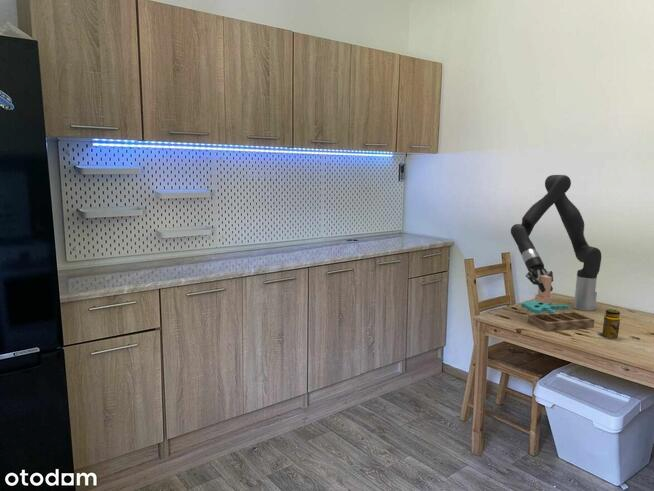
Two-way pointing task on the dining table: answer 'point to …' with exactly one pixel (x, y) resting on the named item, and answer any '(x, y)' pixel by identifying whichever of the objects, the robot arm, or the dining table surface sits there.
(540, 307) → the alien figure
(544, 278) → the tan piece
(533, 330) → the dining table surface
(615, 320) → the condiment
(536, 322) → the rack
